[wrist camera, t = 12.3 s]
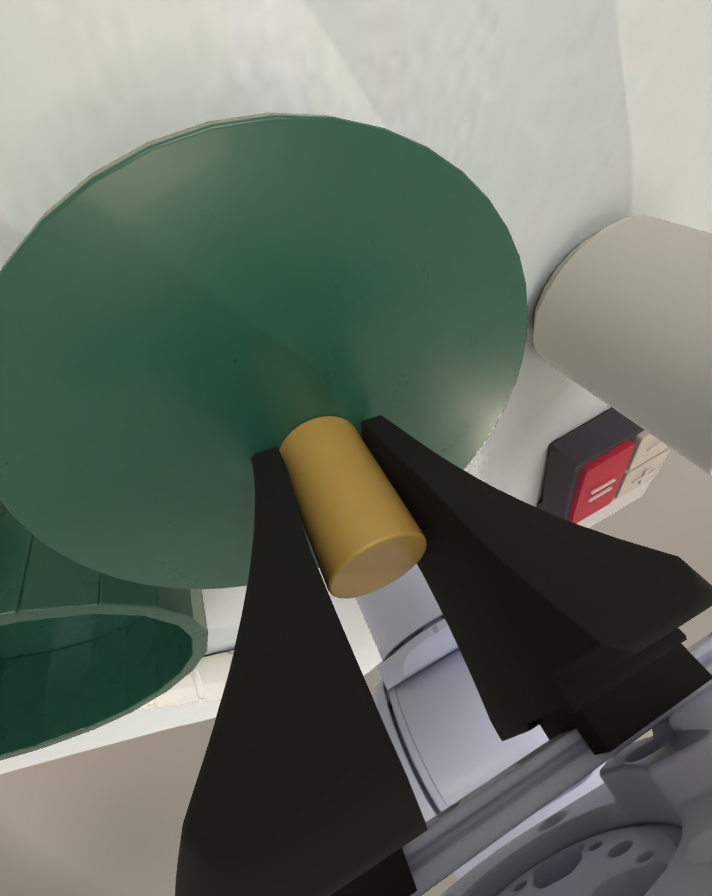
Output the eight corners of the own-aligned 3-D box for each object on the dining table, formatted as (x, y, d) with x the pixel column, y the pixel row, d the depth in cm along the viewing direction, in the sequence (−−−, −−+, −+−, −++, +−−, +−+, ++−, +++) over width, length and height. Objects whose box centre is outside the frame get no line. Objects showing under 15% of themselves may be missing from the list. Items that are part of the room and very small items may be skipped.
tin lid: (579, 93, 8) (891, 107, 5) (457, 489, 18) (529, 579, 15) (-357, 141, 4) (-2100, 391, 1) (156, 607, 14) (165, 762, 11)
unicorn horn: (3, 681, 22) (-16, 781, 19) (325, 620, 37) (343, 670, 34) (-3, 714, 24) (-22, 808, 21) (303, 643, 39) (319, 692, 36)
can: (610, 175, 15) (1080, 276, 8) (660, 250, 20) (989, 361, 12) (496, 333, 19) (743, 507, 11) (560, 366, 24) (768, 507, 16)
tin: (132, 451, 15) (133, 556, 12) (222, 586, 25) (237, 663, 21) (-330, 581, 11) (-511, 784, 8) (-11, 679, 21) (-36, 789, 18)
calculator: (703, 403, 28) (649, 498, 40) (651, 376, 31) (615, 471, 42) (584, 473, 28) (563, 549, 39) (543, 439, 31) (534, 519, 42)
